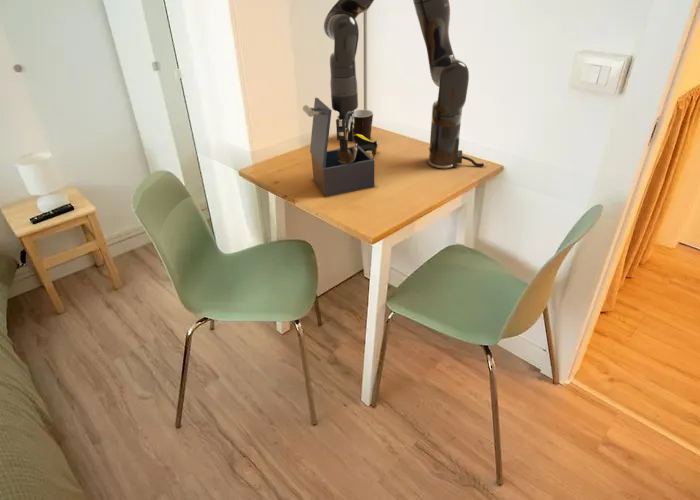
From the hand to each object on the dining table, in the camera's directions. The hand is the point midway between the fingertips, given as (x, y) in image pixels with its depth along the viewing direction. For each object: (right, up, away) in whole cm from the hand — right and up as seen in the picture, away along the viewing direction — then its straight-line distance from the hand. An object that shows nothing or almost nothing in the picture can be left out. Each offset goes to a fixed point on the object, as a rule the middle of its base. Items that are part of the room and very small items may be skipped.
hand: (347, 146), depth 139 cm
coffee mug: (+5, +10, +36) cm, 37 cm away
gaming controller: (+5, +2, +24) cm, 25 cm away
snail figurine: (0, -9, +6) cm, 11 cm away
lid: (-7, +3, -5) cm, 9 cm away
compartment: (-1, -10, +6) cm, 12 cm away
